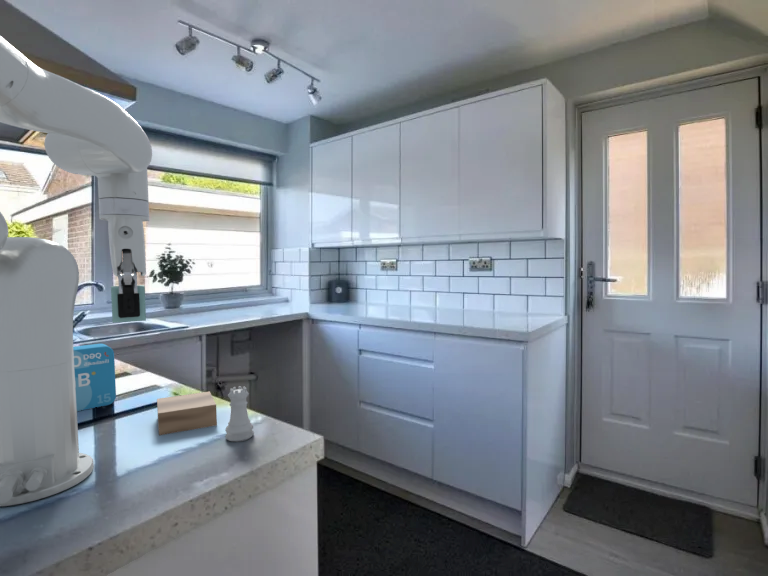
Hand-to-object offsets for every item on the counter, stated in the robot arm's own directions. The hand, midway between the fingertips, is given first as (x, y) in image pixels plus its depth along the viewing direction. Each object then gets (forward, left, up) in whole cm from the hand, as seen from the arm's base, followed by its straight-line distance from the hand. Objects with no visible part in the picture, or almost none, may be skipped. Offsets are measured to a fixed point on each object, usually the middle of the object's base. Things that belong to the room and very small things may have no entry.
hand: (129, 314), depth 78 cm
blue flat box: (+14, +10, -20) cm, 26 cm away
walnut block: (-5, -8, -20) cm, 22 cm away
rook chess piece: (-17, -15, -20) cm, 30 cm away
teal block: (0, 0, -1) cm, 1 cm away
